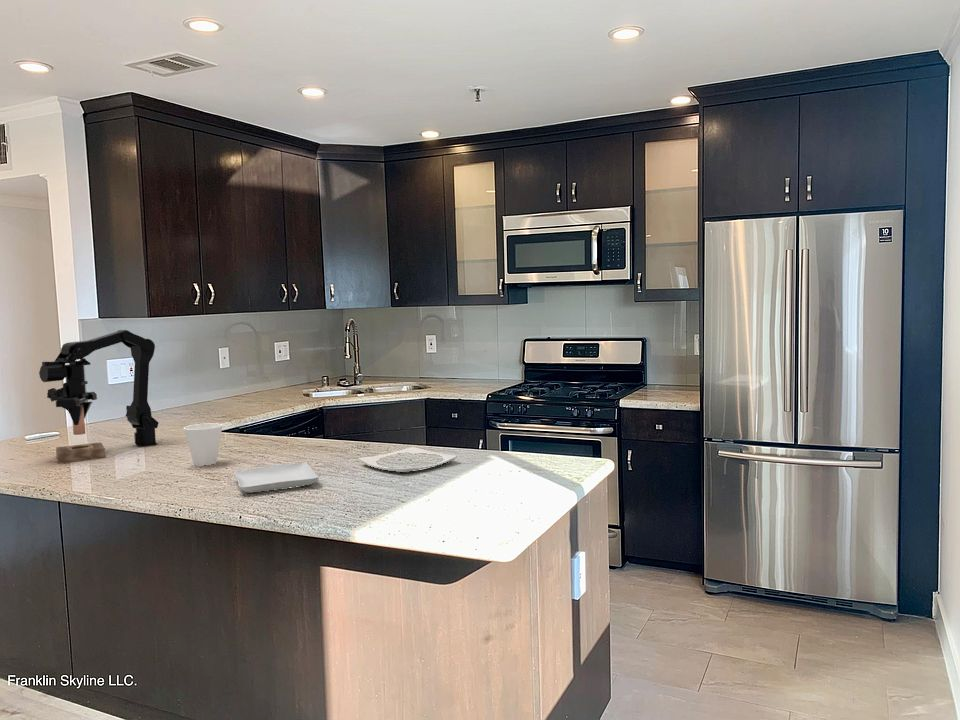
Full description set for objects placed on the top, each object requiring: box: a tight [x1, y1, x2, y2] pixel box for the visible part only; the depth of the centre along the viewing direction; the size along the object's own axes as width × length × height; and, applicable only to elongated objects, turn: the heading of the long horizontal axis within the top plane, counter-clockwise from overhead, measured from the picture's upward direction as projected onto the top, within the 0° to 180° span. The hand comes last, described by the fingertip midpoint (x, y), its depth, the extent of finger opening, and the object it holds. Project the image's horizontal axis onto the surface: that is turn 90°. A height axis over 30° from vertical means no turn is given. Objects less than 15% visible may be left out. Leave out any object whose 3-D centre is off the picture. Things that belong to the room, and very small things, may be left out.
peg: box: [72, 407, 86, 436], centre depth 245 cm, size 4×4×9 cm
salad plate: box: [232, 461, 320, 494], centre depth 202 cm, size 21×21×3 cm
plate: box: [358, 446, 458, 473], centre depth 222 cm, size 24×24×3 cm
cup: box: [183, 422, 223, 467], centre depth 229 cm, size 12×12×12 cm
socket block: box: [55, 441, 106, 464], centre depth 246 cm, size 14×14×4 cm
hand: (78, 424), depth 245 cm, fingers closed on peg, 4 cm apart
